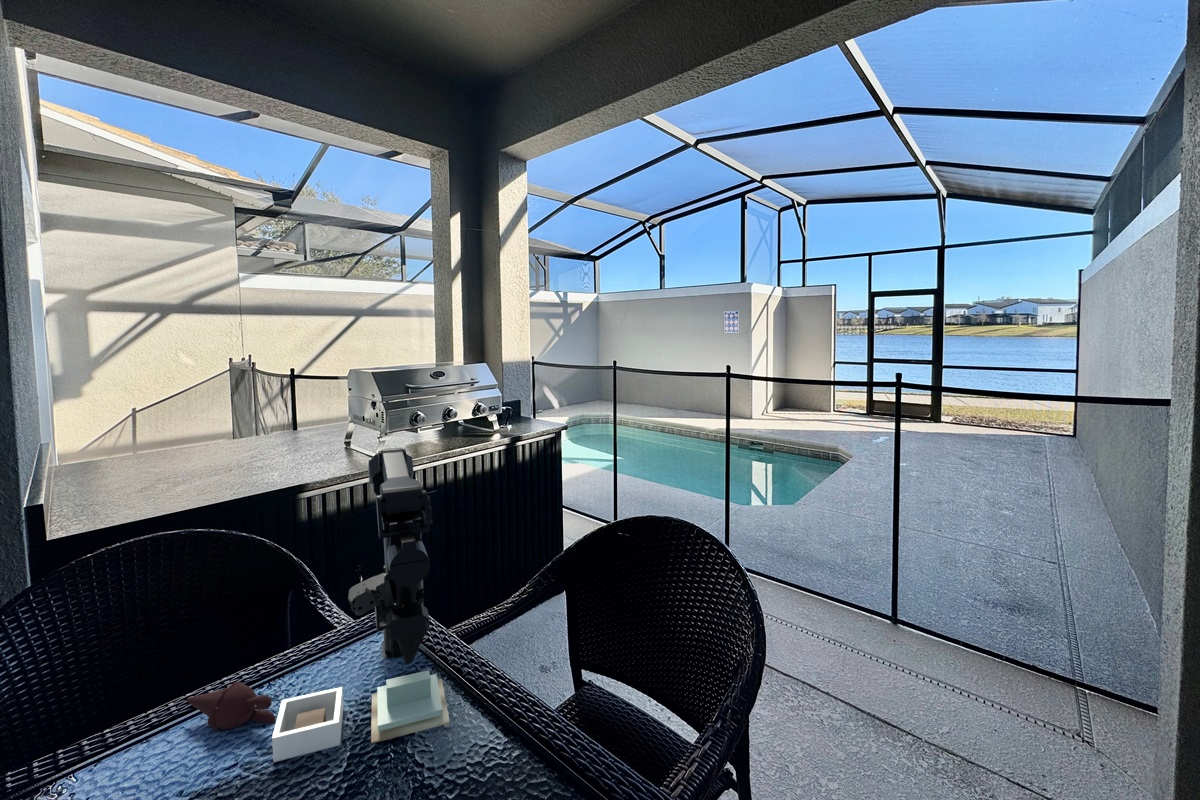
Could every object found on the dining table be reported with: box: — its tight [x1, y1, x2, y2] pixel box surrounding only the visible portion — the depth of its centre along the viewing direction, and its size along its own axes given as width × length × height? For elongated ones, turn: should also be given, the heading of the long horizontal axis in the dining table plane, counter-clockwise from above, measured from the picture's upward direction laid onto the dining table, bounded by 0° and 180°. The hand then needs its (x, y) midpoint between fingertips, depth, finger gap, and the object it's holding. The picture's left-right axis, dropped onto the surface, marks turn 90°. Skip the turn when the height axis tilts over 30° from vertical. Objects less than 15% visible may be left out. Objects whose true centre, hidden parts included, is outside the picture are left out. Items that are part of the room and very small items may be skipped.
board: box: [370, 678, 451, 745], centre depth 91 cm, size 12×12×1 cm
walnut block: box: [295, 708, 326, 729], centre depth 85 cm, size 4×4×2 cm
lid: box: [376, 669, 443, 731], centre depth 91 cm, size 10×10×5 cm
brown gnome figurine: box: [186, 681, 277, 731], centre depth 88 cm, size 7×7×15 cm
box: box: [271, 686, 344, 763], centre depth 85 cm, size 9×9×4 cm
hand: (407, 647), depth 90 cm, fingers open, 9 cm apart
